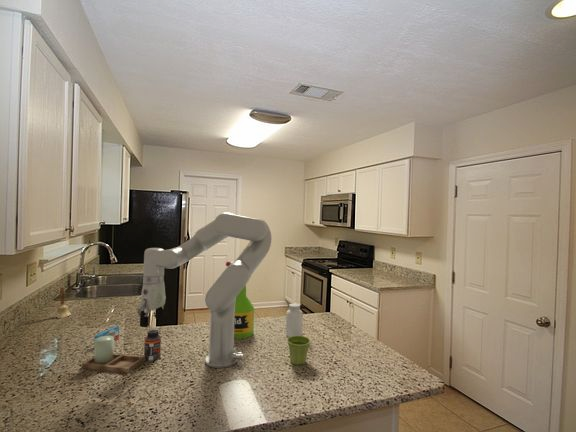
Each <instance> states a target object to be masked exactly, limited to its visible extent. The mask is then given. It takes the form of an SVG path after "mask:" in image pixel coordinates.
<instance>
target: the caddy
mask: <svg viewBox="0 0 576 432" xmlns="http://www.w3.org/2000/svg"><path fill="white" fill-rule="evenodd" d="M145 361H146V360H145V356H143V355H135V354H134V355H133V354H125V353H116V352H114V360H112V361H110V362H109V363H107V364H106V365H104V364H95V363H94V356H92V357H91V358H89V359H87V360H86V361H84V362H82V363H81V368H82V369H88V370H89V369H91V370H96V371H97V370H98V371H106V372H116V373H122V374H124V373H125V374H129V373H130V372H131V371H134V369H136V368H138V367H139V366H140V365H141V364H143V363H144V362H145Z"/></svg>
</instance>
